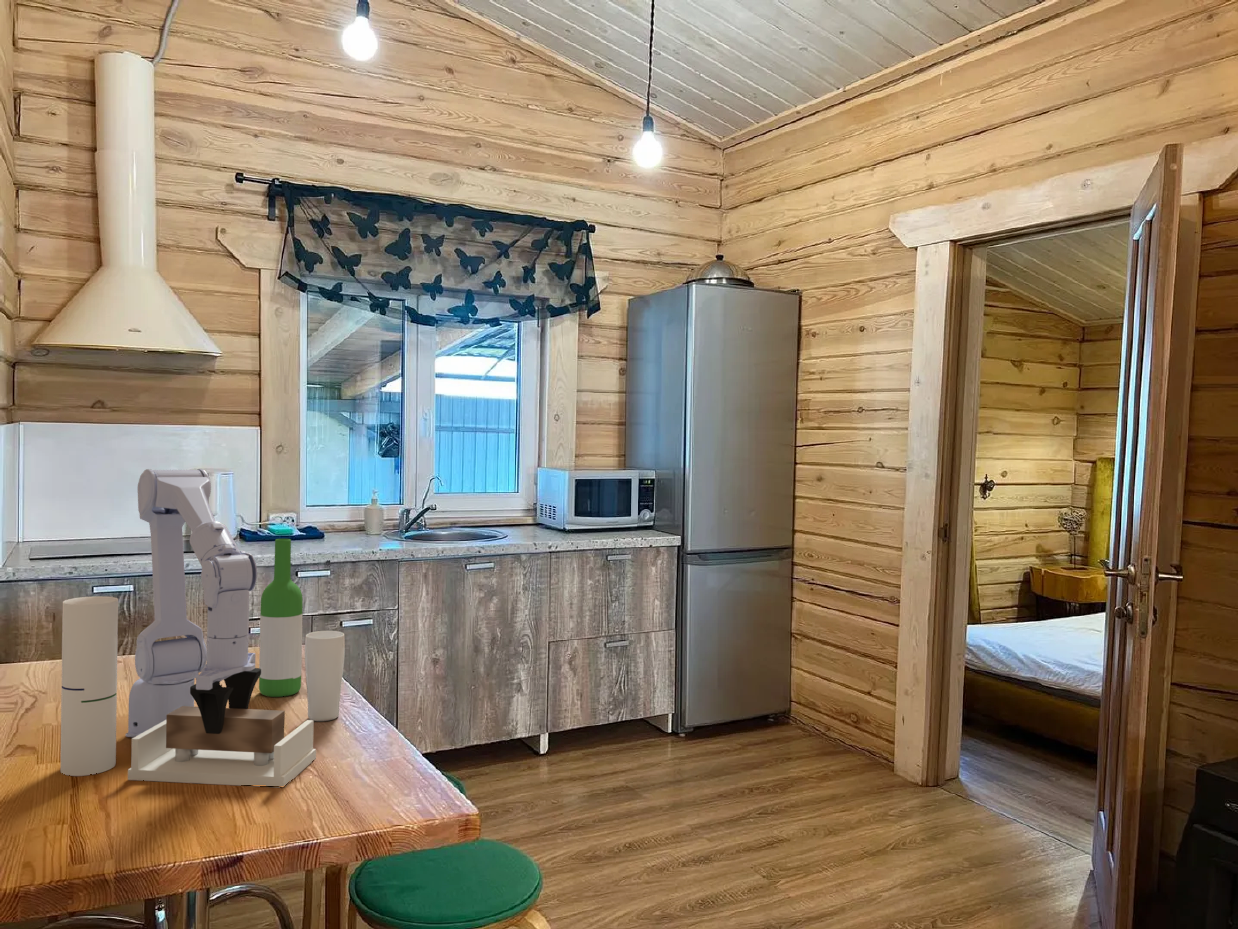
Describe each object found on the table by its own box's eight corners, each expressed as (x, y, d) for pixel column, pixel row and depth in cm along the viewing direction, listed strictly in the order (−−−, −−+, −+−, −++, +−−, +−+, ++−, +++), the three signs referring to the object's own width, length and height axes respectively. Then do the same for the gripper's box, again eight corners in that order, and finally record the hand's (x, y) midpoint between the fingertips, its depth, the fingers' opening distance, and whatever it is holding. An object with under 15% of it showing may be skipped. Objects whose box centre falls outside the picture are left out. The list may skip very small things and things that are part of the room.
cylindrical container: (75, 758, 139) (77, 596, 138) (124, 758, 140) (126, 596, 139) (50, 776, 132) (52, 604, 131) (101, 776, 133) (104, 605, 132)
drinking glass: (331, 725, 158) (332, 639, 158) (295, 721, 160) (297, 637, 159) (350, 714, 165) (351, 631, 165) (316, 710, 166) (317, 629, 166)
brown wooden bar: (166, 748, 135) (166, 714, 135) (181, 738, 139) (182, 706, 139) (271, 753, 134) (272, 719, 134) (284, 743, 138) (284, 710, 138)
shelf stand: (127, 779, 131) (128, 738, 131) (172, 751, 143) (173, 713, 143) (283, 787, 130) (284, 746, 130) (315, 758, 142) (316, 720, 142)
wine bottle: (252, 691, 177) (255, 538, 177) (291, 685, 183) (294, 536, 182) (267, 700, 172) (270, 542, 171) (307, 694, 177) (310, 540, 176)
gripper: (230, 647, 129) (229, 742, 129) (274, 626, 143) (273, 711, 144) (182, 644, 129) (180, 739, 130) (231, 624, 144) (229, 709, 144)
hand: (226, 724), depth 137 cm, fingers open, 7 cm apart
